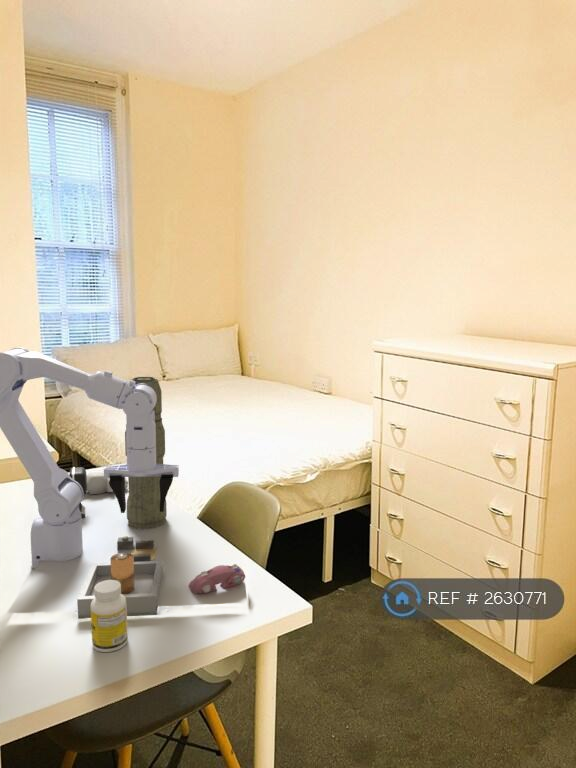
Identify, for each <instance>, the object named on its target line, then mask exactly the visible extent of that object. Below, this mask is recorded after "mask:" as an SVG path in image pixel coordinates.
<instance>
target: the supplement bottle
mask: <svg viewBox="0 0 576 768" xmlns="http://www.w3.org/2000/svg"><path fill="white" fill-rule="evenodd" d="M93 588H94V589H93V591H94V593H93V596H95V598H94V599H93V600H92V602H91V618H90V622H91V623H90V624H91V640H92V641H91V642H92V646H93V648H94V649H95V650H96V651H97V652H100V653H111V652H115V651H116V652H117V650H120V649H122V648H123V647H124V646H126V644H127V642H128V640H129V639H128V638H129V633H128V632H129V631H128V629H129V628H128V616H127V606H126V598H125V596H124V595H123V594H121V584H120V582H119V581H116V580H111V579H106V580H102V581H100V582H98V583H97V584H96V583H95V584H94V586H93Z"/></svg>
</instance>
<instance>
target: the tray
mask: <svg viewBox="0 0 576 768" xmlns="http://www.w3.org/2000/svg"><path fill="white" fill-rule="evenodd" d="M163 568H164V567H163V560H151V561H143V562H134V576H139V575H142V576H143V575H153V580H152V586H151V590H150V592H148V593H147V592H145V593H129V594H123V595H124V596H125V598H126V606H127V617H133V616H134V617H136V616H138V617H139V616H154V615H155V616H157V613H158V607H159V606H158V599H159V594H160V588H161V582H162V577H163V570H164V569H163ZM98 577H111V562H97V563H95V562H94V563H93V562H92V564H91V567H90V569H89V571H88V574H87V576H86V578H85V580H84V583H83V584H82V587H81V590H80V592H79V594H78V597H77V603H76V604H77V617H78V618H77V619H91V602H92V600H93V599H94V598H95V595H91V593H92V592H93V590H94V589H93V588H94V587H95V585H96V581H97V578H98Z"/></svg>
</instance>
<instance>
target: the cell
mask: <svg viewBox="0 0 576 768" xmlns="http://www.w3.org/2000/svg"><path fill="white" fill-rule="evenodd" d="M110 563H111V576H110V580H116V581H119V582H120V584H121V594H132V593H133V592H134V591H135V575H134V556H133V555H132V554H131V553H129V552H120V553H119V552H118V553H115V554H113V555H112V556H111V557H110Z"/></svg>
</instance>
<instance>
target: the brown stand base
mask: <svg viewBox="0 0 576 768" xmlns="http://www.w3.org/2000/svg"><path fill="white" fill-rule="evenodd" d="M116 544H117V545H116V549H117V551H124V550H125V551H127V550H129V551H130V552H131V553H130V554H132V555H133V556H134V562H143V561H156V560H155V559H156V554H157V547H156V548H155V541H154V539H152V540H136V541H135V548H134V536H126V535H125V536H122V537H118V539H117V543H116Z"/></svg>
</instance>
